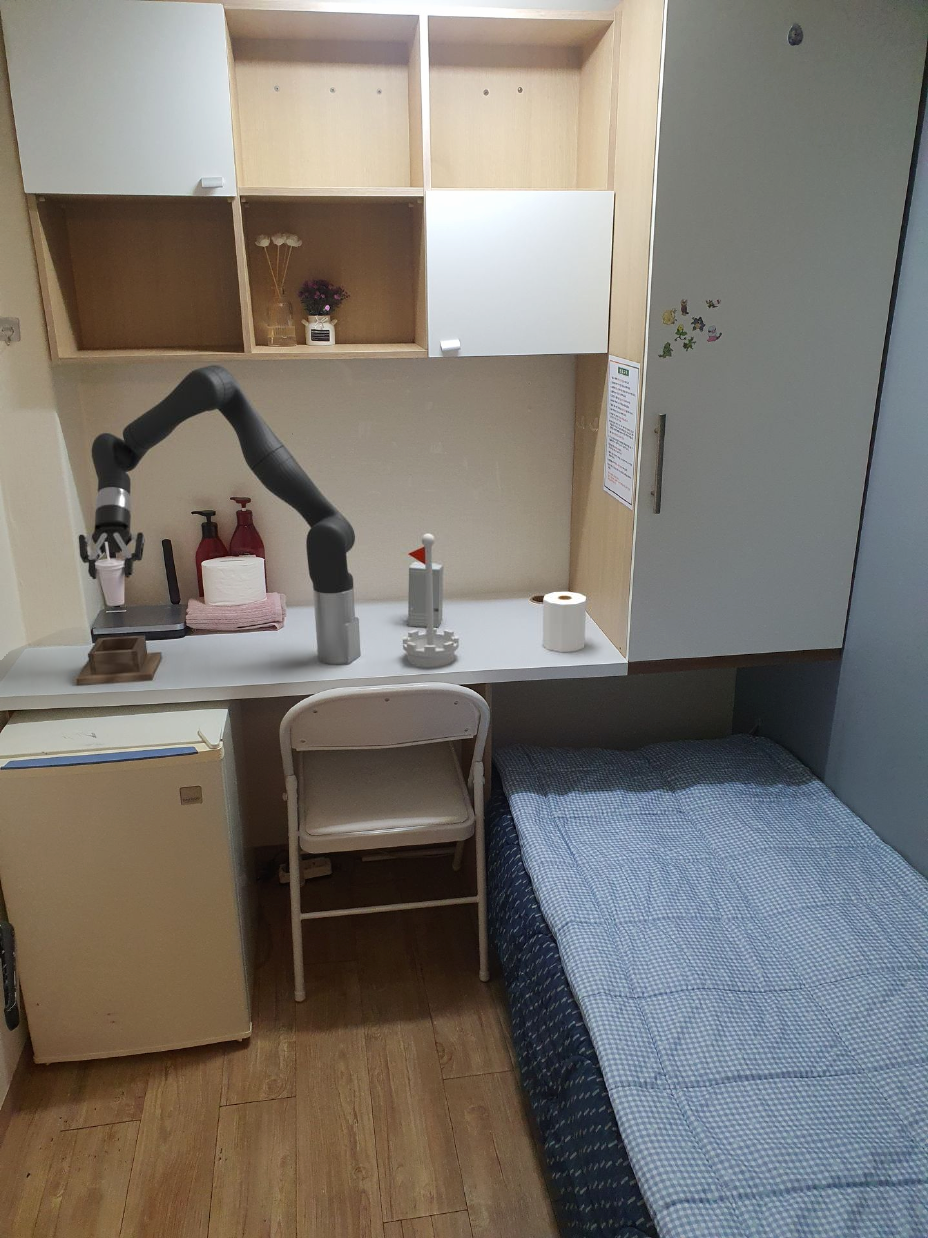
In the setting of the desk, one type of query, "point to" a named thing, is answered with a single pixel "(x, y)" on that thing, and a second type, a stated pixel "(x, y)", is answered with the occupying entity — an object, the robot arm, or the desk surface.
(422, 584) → the skincare box
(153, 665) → the socket board
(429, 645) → the flag stand
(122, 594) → the smoothie
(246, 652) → the desk surface
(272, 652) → the desk surface
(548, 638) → the toilet paper
